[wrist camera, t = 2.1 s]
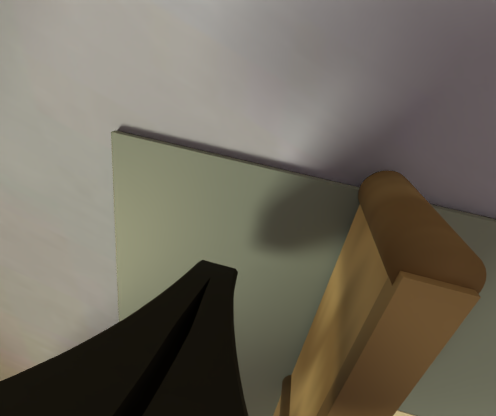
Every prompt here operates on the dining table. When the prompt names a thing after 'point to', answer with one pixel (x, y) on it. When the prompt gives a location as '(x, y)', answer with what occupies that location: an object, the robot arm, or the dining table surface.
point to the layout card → (276, 263)
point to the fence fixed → (284, 398)
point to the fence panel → (385, 305)
